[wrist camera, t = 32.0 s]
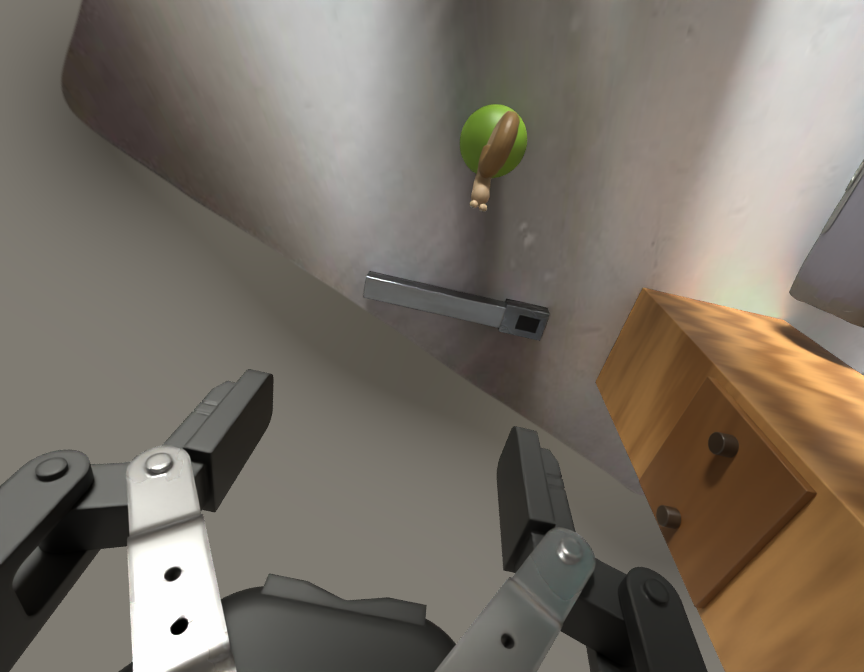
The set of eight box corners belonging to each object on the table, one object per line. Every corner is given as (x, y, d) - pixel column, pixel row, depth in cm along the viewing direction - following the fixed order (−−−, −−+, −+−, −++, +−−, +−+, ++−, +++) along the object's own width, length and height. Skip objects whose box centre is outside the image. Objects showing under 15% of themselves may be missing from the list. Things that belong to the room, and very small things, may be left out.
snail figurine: (447, 169, 38) (438, 196, 28) (475, 93, 35) (477, 90, 25) (501, 192, 39) (513, 226, 28) (534, 119, 36) (561, 126, 25)
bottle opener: (365, 294, 45) (362, 301, 44) (369, 267, 43) (366, 272, 42) (537, 333, 46) (540, 341, 44) (547, 307, 44) (550, 314, 43)
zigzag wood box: (581, 379, 48) (754, 808, 19) (627, 283, 42) (980, 692, 13) (720, 410, 49) (1094, 872, 20) (784, 320, 43) (1457, 789, 14)
